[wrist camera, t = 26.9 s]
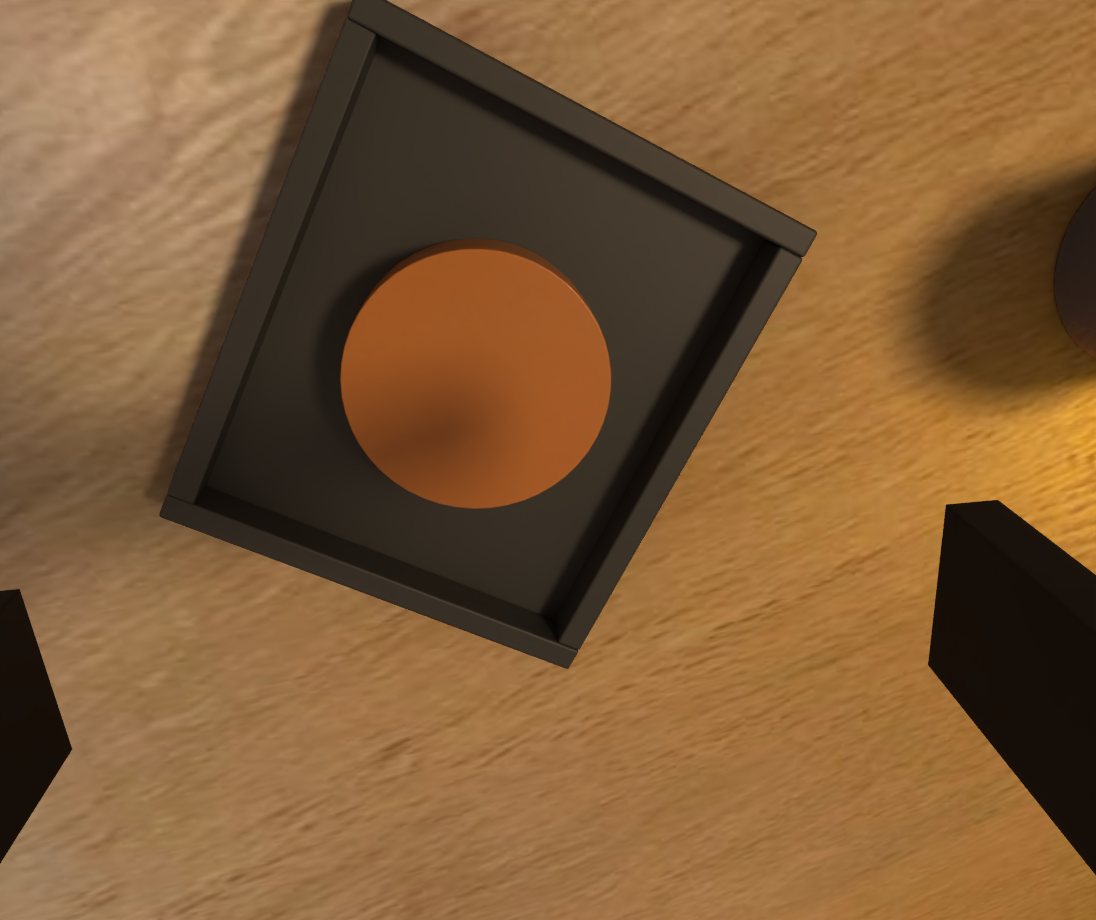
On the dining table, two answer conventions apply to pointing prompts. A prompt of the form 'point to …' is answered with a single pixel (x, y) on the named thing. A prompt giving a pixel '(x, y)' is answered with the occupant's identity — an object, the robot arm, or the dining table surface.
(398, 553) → the tray
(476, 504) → the lid
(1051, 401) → the dining table surface
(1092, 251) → the jar
